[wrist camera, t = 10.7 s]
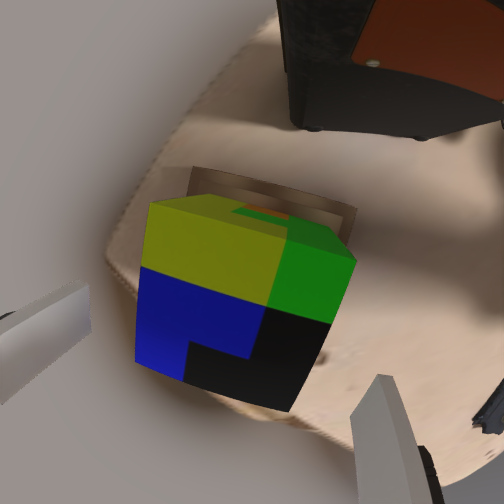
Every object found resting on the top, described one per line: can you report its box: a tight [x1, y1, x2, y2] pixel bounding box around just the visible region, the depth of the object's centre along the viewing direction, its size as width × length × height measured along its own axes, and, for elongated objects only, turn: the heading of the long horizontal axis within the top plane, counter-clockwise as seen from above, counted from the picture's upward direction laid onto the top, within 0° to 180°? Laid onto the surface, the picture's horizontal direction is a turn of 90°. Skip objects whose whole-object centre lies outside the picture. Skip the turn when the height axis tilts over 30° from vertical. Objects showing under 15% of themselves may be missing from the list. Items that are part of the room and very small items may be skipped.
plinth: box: [186, 166, 357, 247], centre depth 25 cm, size 14×14×4 cm
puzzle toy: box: [135, 194, 357, 413], centre depth 18 cm, size 10×10×10 cm
